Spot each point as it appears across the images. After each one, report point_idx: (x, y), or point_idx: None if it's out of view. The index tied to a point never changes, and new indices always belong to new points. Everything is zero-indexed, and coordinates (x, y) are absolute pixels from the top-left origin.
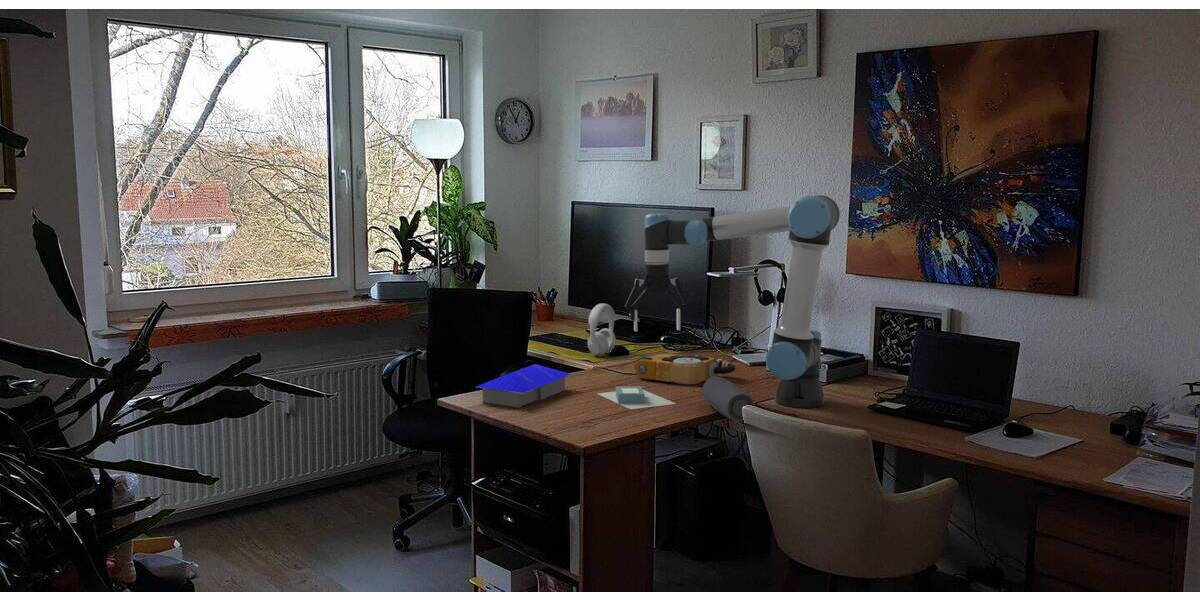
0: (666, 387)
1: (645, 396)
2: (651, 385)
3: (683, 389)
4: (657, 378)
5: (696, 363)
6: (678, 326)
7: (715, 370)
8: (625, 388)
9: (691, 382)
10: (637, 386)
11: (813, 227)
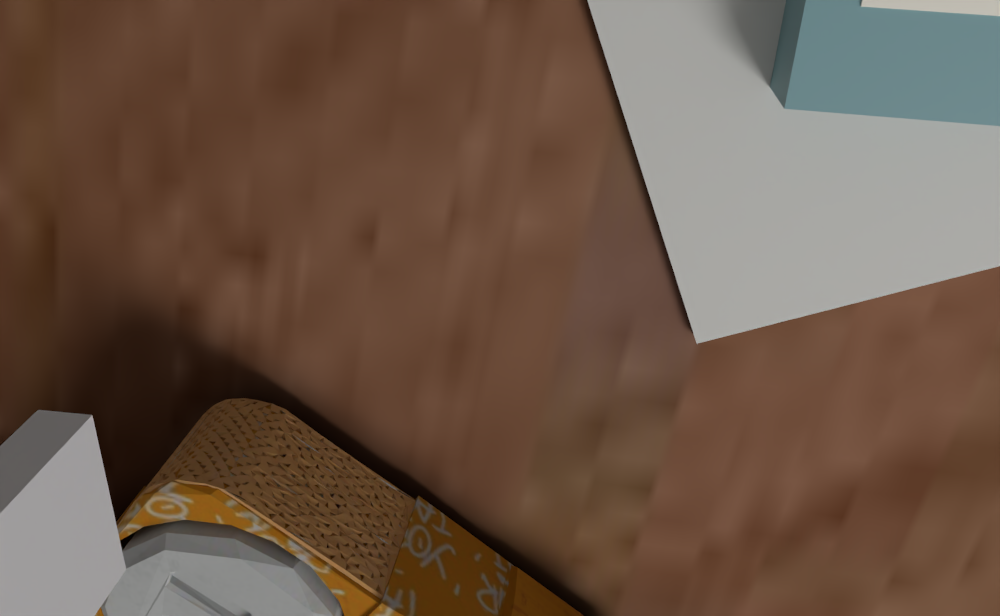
0: (459, 401)
1: (734, 51)
2: (564, 473)
3: (335, 324)
4: (496, 563)
5: (145, 546)
6: (24, 472)
7: None
8: (995, 26)
9: (253, 404)
10: (824, 110)
11: None
